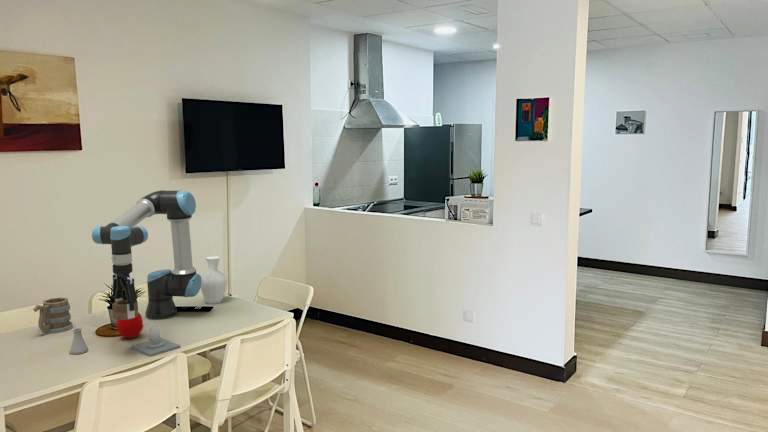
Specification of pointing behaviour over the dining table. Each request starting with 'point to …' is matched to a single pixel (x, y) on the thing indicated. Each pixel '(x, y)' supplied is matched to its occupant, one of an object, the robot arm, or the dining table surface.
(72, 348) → the flask
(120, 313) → the collar
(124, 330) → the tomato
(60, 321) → the tankard
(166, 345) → the post fixture
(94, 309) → the dining table surface
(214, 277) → the vase
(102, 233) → the robot arm
